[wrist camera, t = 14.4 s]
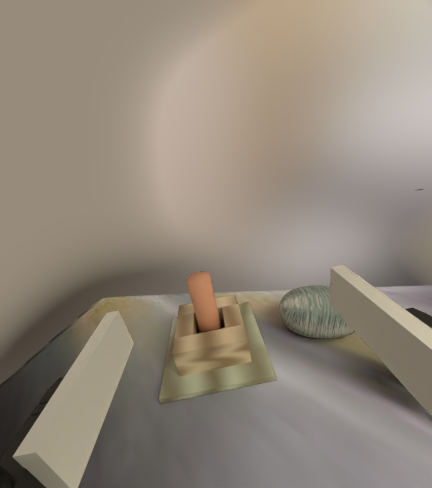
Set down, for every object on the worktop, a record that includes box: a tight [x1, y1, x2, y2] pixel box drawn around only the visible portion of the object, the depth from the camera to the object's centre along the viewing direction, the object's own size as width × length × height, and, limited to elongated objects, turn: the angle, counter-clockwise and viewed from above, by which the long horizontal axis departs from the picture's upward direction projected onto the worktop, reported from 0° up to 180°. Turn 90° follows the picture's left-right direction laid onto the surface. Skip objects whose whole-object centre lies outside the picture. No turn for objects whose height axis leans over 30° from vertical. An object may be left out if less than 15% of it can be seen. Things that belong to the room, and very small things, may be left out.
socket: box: [159, 295, 276, 404], centre depth 38 cm, size 18×18×6 cm
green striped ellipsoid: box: [280, 286, 355, 339], centre depth 38 cm, size 14×10×10 cm
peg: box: [187, 271, 222, 333], centre depth 37 cm, size 4×4×14 cm
